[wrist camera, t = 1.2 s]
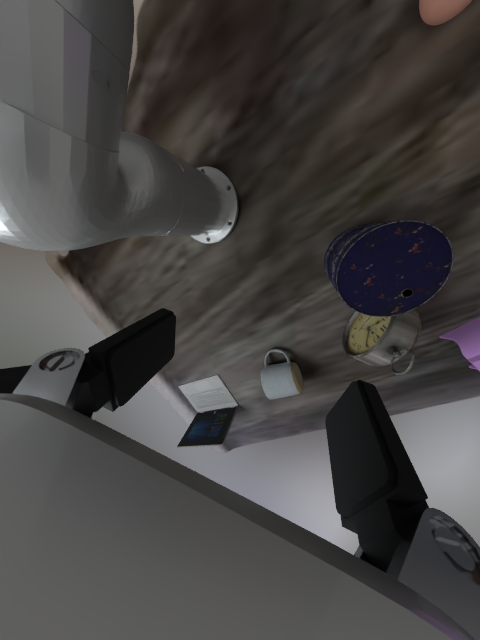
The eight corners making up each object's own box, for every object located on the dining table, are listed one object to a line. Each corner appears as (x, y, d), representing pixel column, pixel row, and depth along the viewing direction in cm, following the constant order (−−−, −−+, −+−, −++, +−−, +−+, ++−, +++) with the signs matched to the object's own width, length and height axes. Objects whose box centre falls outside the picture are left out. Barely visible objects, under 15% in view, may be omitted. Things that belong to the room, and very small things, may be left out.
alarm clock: (372, 284, 32) (423, 322, 18) (402, 297, 31) (480, 346, 18) (335, 331, 38) (354, 389, 24) (361, 343, 37) (395, 409, 23)
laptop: (218, 373, 54) (196, 409, 43) (239, 404, 57) (223, 445, 46) (179, 384, 62) (151, 417, 51) (199, 411, 65) (177, 448, 54)
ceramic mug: (305, 378, 45) (305, 402, 38) (275, 383, 48) (270, 406, 42) (289, 342, 42) (286, 362, 36) (258, 350, 46) (250, 369, 39)
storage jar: (311, 259, 33) (315, 274, 21) (362, 211, 28) (409, 192, 16) (348, 296, 34) (373, 333, 21) (404, 256, 29) (482, 272, 16)
